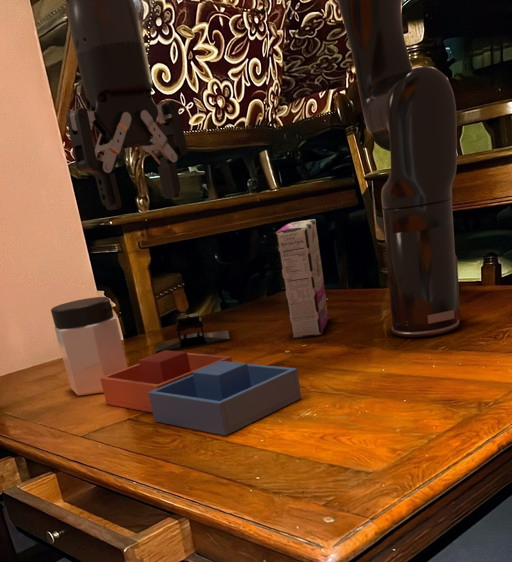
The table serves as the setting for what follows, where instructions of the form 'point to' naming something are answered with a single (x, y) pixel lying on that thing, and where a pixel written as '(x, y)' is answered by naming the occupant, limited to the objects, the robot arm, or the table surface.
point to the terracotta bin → (134, 391)
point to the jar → (88, 342)
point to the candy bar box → (303, 278)
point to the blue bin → (226, 401)
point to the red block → (164, 366)
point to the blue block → (221, 380)
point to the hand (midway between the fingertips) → (144, 203)
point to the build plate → (191, 335)
